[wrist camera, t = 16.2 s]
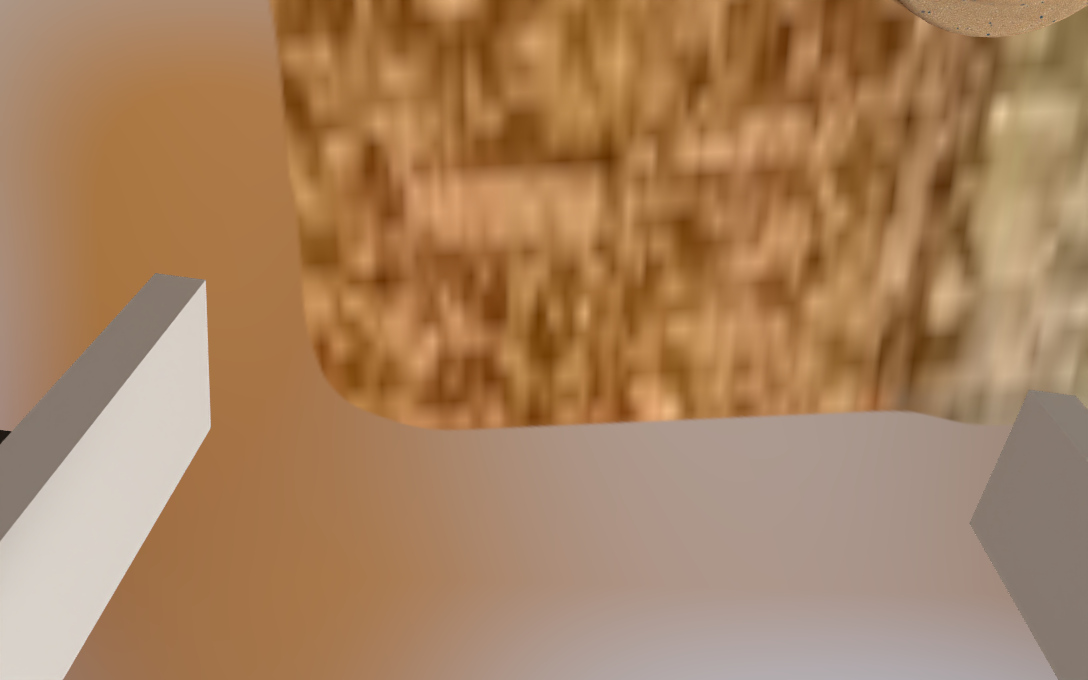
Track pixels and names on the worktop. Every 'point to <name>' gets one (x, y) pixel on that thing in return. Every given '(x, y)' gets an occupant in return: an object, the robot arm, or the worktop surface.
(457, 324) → the worktop surface
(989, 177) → the worktop surface
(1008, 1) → the candle holder
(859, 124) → the worktop surface
